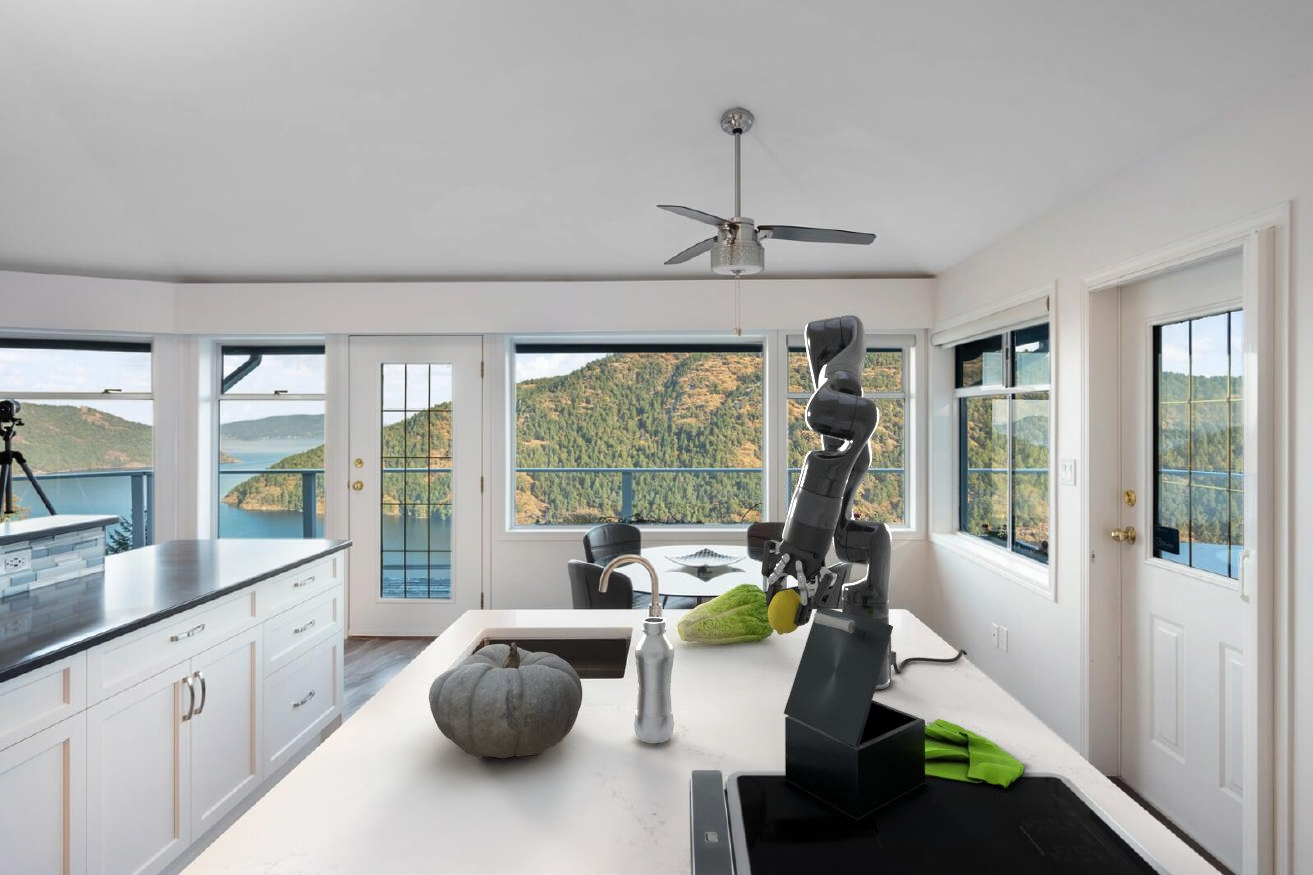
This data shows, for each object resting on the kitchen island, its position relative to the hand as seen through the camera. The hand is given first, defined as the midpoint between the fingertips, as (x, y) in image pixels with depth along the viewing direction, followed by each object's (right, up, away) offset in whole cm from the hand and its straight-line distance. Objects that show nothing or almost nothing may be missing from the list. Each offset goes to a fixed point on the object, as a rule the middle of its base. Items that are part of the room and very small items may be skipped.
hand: (784, 614), depth 106 cm
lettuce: (-4, -22, +57) cm, 62 cm away
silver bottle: (-21, -22, +4) cm, 31 cm away
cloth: (+26, -22, 0) cm, 34 cm away
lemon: (-1, -4, +1) cm, 4 cm away
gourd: (-46, -22, +4) cm, 51 cm away
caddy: (+8, -22, -11) cm, 26 cm away
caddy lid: (+5, -5, -13) cm, 14 cm away
